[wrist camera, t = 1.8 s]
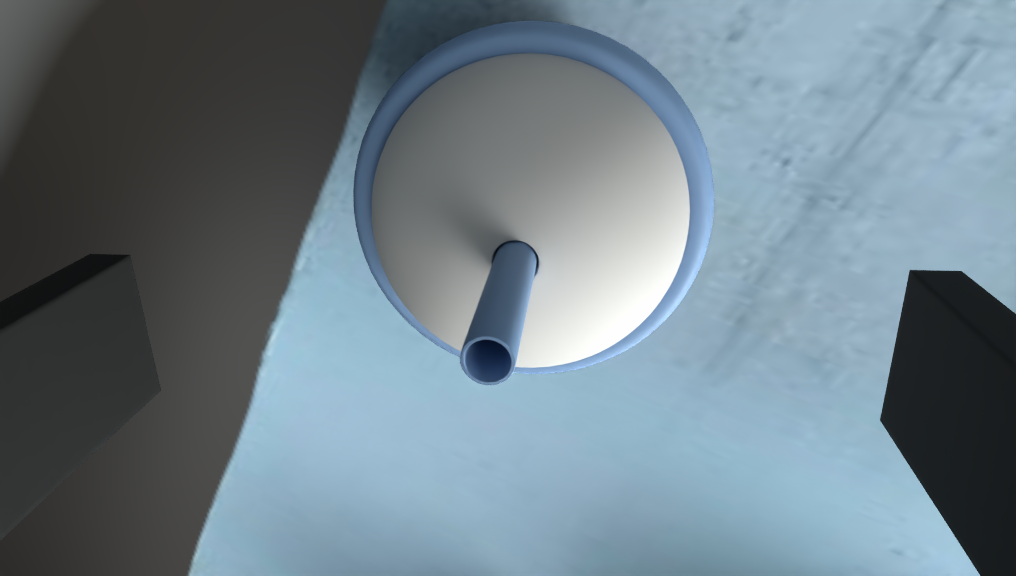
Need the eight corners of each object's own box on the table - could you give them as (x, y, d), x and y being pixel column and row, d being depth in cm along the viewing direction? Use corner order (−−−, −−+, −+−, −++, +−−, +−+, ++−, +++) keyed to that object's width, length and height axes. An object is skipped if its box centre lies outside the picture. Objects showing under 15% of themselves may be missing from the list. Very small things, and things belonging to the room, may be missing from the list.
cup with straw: (460, 261, 30) (298, 600, 14) (409, 31, 27) (116, 118, 11) (685, 230, 29) (805, 570, 12) (660, -19, 25) (777, -7, 9)
